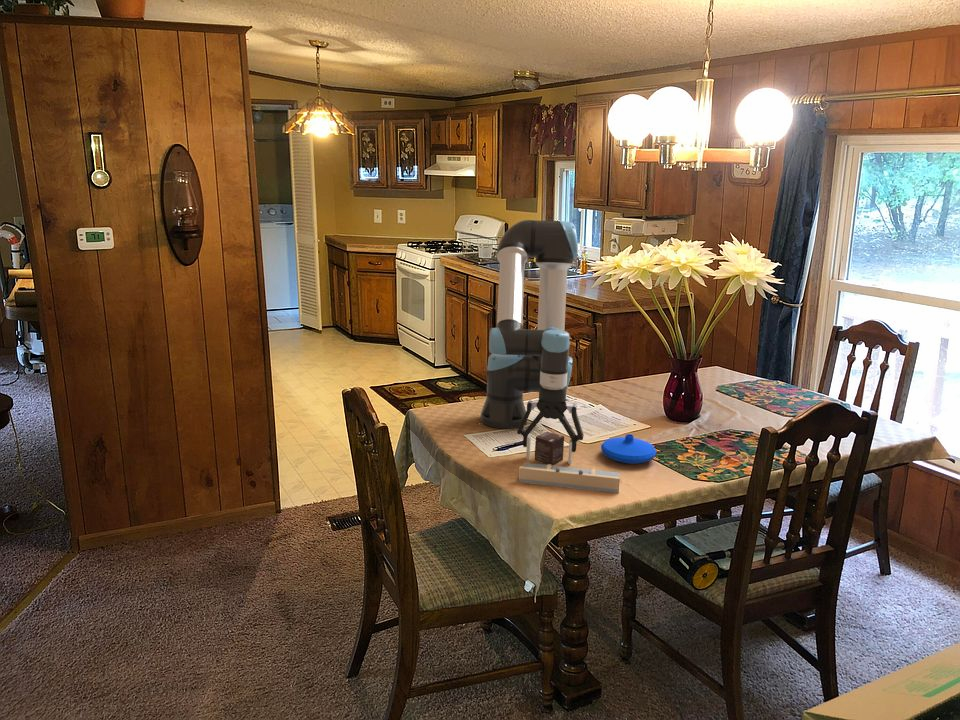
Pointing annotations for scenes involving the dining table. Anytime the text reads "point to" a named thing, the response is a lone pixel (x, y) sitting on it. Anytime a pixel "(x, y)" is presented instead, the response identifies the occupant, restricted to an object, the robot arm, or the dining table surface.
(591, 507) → the dining table surface
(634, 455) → the blue knobbed lid
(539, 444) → the box
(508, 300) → the robot arm
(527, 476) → the board
